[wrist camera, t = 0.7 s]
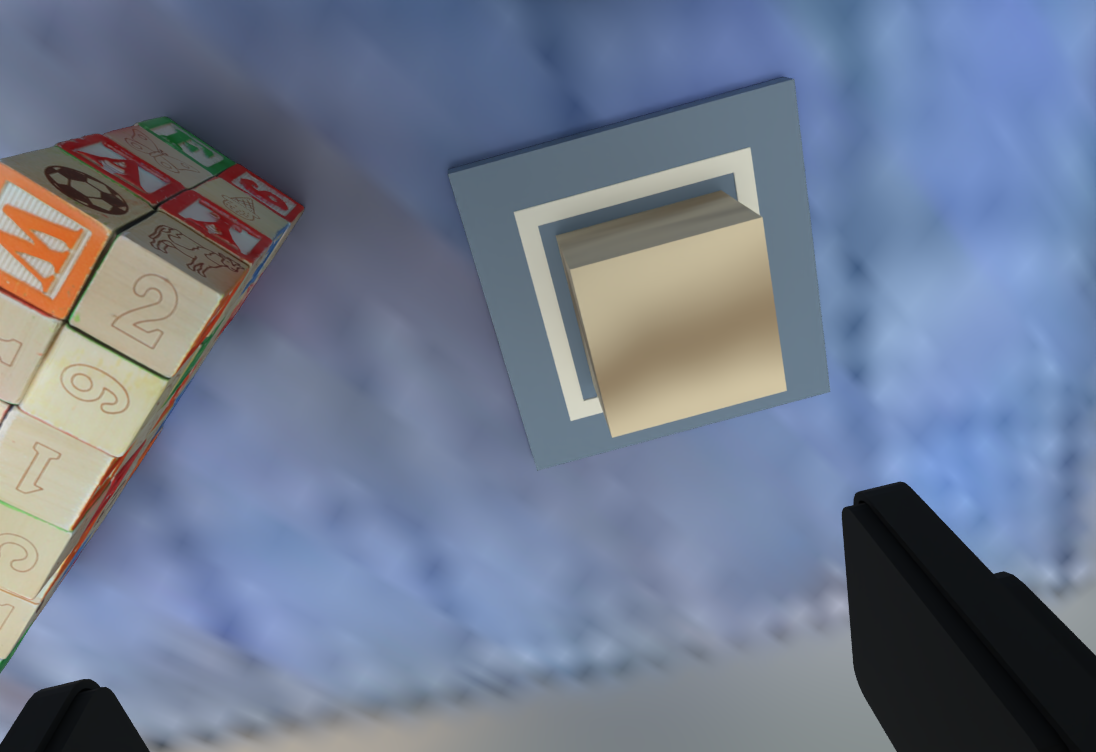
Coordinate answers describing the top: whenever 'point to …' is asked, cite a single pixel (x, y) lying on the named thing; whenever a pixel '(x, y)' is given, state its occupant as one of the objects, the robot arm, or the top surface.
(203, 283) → the stack of blocks
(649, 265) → the maple base block
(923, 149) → the top surface
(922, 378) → the top surface
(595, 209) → the board
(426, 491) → the top surface
